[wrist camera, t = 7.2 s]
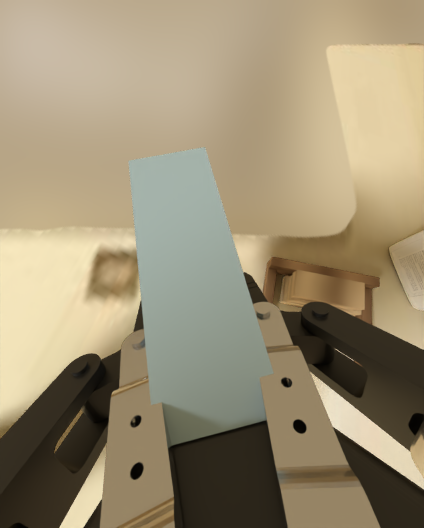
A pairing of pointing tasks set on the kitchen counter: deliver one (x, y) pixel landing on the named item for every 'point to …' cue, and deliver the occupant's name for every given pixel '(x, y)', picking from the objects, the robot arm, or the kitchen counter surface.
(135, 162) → the pale blue rectangular block
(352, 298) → the offcut stack
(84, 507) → the kitchen counter surface
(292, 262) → the walnut rack
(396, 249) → the photo printer
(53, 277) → the kitchen counter surface
